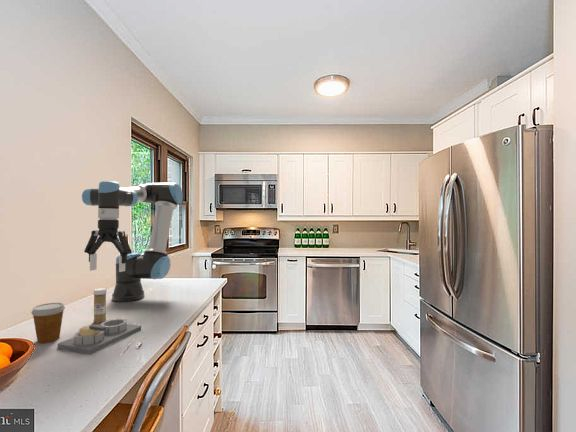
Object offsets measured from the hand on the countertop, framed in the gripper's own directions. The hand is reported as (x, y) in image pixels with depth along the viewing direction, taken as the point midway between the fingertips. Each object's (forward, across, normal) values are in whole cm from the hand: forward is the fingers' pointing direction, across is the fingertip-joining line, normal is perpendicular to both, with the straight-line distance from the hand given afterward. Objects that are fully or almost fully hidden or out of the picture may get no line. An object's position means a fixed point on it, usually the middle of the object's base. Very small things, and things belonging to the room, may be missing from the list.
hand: (107, 270), depth 129 cm
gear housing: (+22, +10, -14) cm, 28 cm away
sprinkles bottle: (+21, -4, +1) cm, 22 cm away
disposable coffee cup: (+22, -7, -19) cm, 30 cm away
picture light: (+22, +26, -18) cm, 38 cm away
